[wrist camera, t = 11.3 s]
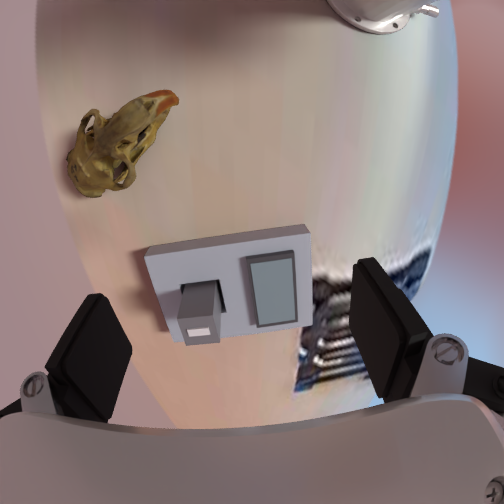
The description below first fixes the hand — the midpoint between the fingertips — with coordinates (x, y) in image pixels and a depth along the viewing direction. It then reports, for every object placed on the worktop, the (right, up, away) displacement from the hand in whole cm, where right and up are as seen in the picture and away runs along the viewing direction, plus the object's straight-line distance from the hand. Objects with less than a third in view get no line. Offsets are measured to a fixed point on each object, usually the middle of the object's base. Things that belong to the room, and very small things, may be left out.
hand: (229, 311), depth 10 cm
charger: (-6, -3, +28) cm, 29 cm away
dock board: (-2, -2, +28) cm, 29 cm away
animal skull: (-13, +16, +19) cm, 28 cm away
